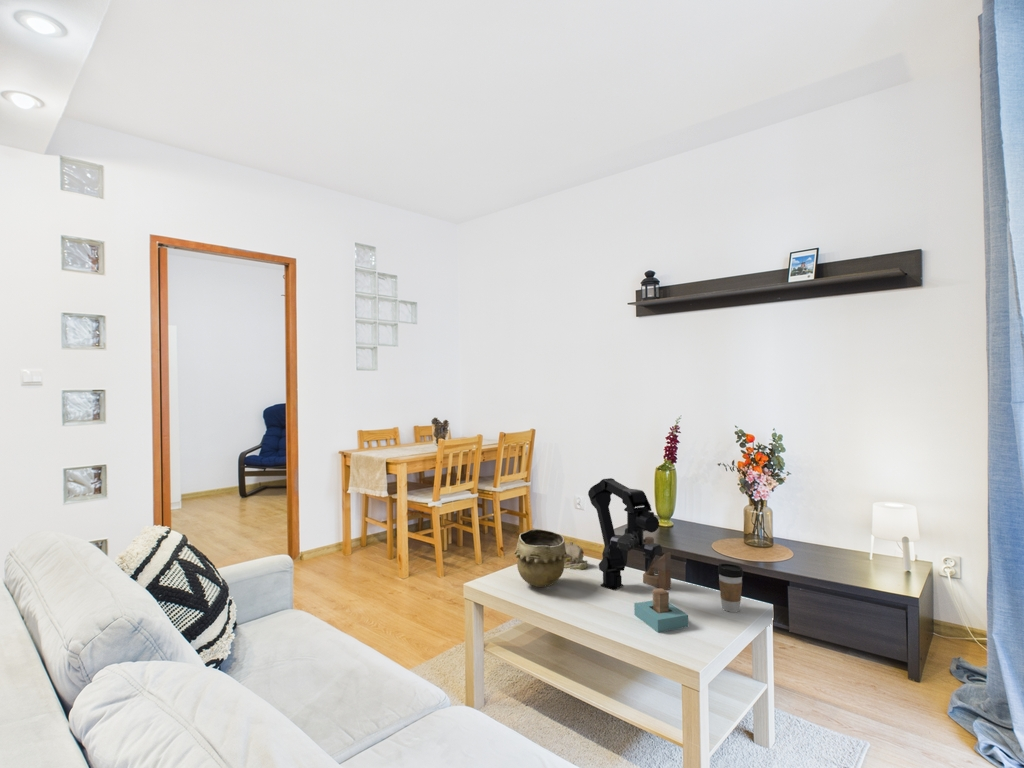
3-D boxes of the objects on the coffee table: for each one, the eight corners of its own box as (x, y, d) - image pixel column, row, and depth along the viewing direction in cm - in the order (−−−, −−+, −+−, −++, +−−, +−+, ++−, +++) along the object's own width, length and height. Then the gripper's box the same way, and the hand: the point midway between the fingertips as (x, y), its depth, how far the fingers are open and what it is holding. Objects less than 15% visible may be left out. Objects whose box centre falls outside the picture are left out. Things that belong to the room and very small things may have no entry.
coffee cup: (714, 603, 197) (714, 562, 197) (738, 603, 197) (738, 562, 197) (722, 613, 188) (722, 570, 188) (747, 613, 188) (747, 570, 188)
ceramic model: (551, 566, 239) (551, 543, 239) (562, 559, 248) (562, 537, 248) (581, 571, 232) (581, 548, 232) (591, 564, 241) (591, 541, 241)
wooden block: (665, 590, 210) (665, 543, 210) (642, 582, 218) (642, 537, 218) (671, 588, 212) (671, 541, 212) (648, 580, 220) (648, 535, 220)
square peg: (653, 619, 184) (652, 589, 184) (661, 617, 186) (661, 588, 186) (659, 624, 181) (659, 593, 181) (668, 622, 182) (668, 592, 182)
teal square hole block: (634, 614, 188) (634, 603, 188) (663, 610, 192) (663, 598, 192) (657, 632, 175) (657, 619, 175) (688, 627, 178) (688, 614, 178)
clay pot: (579, 586, 215) (578, 535, 215) (539, 600, 201) (539, 546, 201) (542, 572, 231) (542, 524, 231) (503, 584, 217) (503, 534, 217)
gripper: (601, 525, 201) (601, 567, 201) (645, 534, 187) (645, 580, 187) (618, 519, 208) (619, 560, 208) (662, 528, 195) (663, 572, 195)
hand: (635, 568), depth 200 cm, fingers open, 9 cm apart
